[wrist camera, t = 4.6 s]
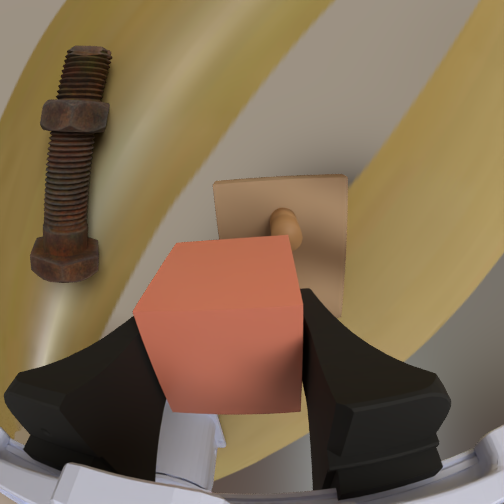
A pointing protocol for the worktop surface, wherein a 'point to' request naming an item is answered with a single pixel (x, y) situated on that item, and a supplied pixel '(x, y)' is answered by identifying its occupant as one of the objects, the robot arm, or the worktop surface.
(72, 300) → the worktop surface
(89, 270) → the bolt
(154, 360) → the salmon cube
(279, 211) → the stub block
